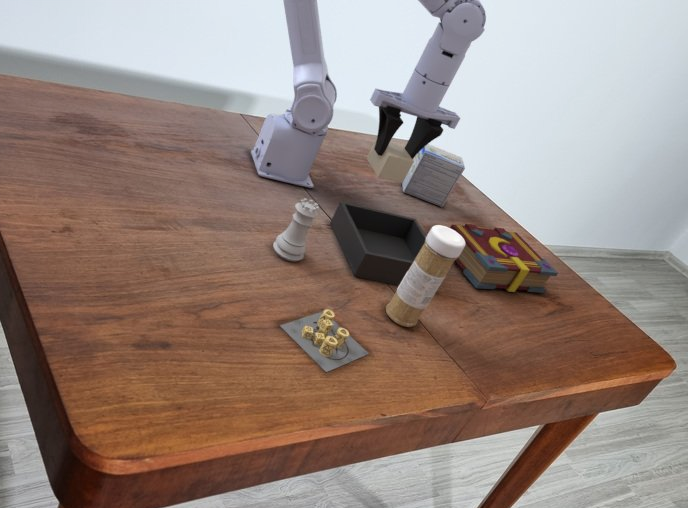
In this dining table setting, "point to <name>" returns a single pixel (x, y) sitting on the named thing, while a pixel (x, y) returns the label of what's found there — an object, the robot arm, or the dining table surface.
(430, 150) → the medicine box
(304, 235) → the rook chess piece
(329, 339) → the dice set
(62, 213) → the dining table surface
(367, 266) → the basket
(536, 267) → the decorative book
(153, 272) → the dining table surface
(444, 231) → the sprinkles bottle
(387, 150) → the small box
